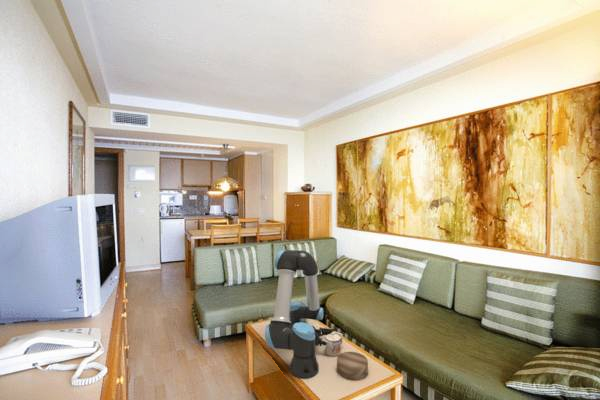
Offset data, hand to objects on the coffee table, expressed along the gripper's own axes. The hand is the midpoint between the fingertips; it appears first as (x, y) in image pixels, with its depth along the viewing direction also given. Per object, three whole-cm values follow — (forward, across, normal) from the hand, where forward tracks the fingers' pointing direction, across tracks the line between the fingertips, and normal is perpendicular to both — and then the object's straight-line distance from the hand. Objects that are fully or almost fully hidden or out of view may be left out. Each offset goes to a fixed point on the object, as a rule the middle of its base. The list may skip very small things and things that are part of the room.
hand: (337, 340), depth 170 cm
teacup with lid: (-2, 0, -7) cm, 7 cm away
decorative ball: (-44, -19, -7) cm, 48 cm away
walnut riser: (+15, +11, -7) cm, 20 cm away
